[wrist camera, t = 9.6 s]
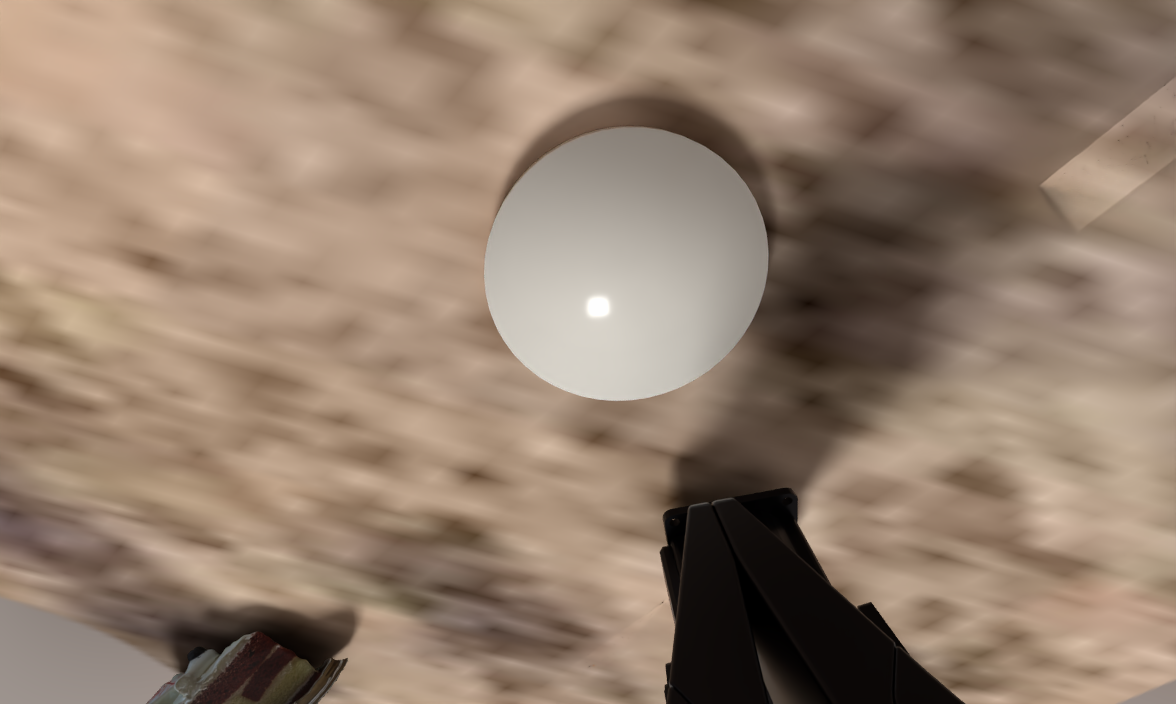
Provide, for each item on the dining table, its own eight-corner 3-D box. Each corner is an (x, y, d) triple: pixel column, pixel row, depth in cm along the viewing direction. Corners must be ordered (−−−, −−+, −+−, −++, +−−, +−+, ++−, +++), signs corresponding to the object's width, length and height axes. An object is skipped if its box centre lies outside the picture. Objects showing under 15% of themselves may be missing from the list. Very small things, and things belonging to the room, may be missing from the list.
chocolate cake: (248, 590, 27) (9, 832, 22) (349, 671, 28) (141, 921, 23) (279, 563, 36) (112, 734, 31) (356, 626, 37) (206, 801, 32)
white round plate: (755, 95, 18) (765, 96, 17) (762, 361, 23) (770, 373, 22) (449, 161, 18) (444, 166, 17) (525, 409, 23) (525, 422, 22)
